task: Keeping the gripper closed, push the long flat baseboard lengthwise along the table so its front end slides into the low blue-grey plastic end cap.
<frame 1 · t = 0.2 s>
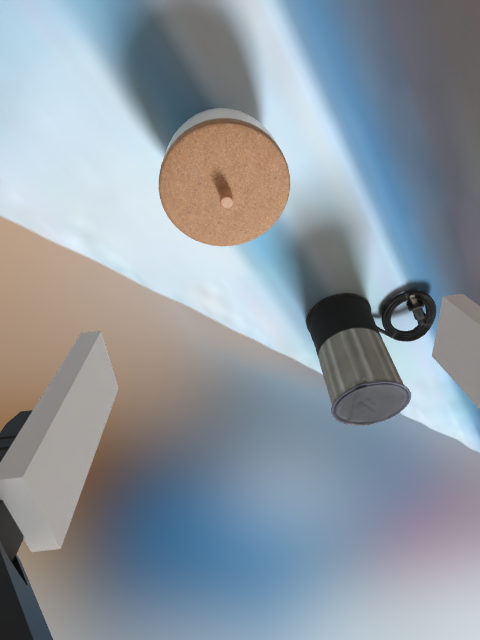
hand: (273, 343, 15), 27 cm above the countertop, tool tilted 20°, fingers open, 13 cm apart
milk frother: (365, 310, 54), on the countertop
lidded jar: (220, 152, 36), on the countertop
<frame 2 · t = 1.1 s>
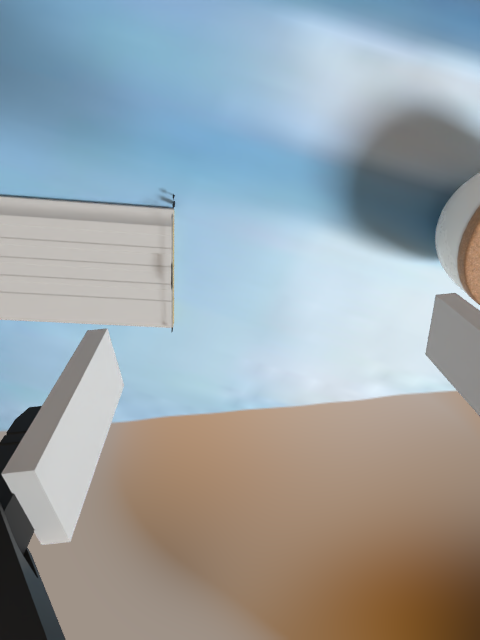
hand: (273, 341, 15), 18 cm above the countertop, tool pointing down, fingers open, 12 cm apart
lidded jar: (474, 218, 32), on the countertop
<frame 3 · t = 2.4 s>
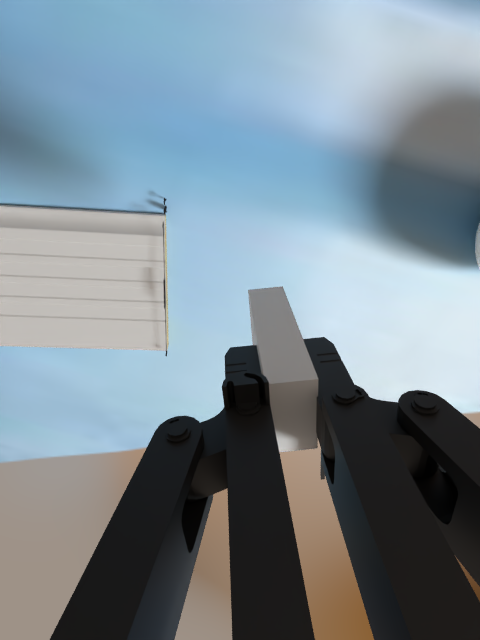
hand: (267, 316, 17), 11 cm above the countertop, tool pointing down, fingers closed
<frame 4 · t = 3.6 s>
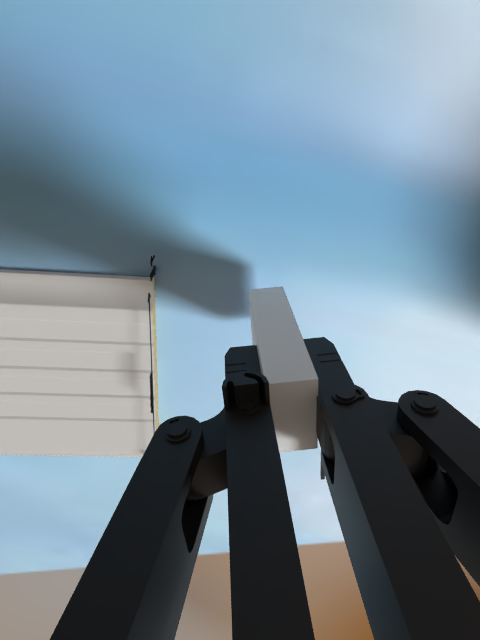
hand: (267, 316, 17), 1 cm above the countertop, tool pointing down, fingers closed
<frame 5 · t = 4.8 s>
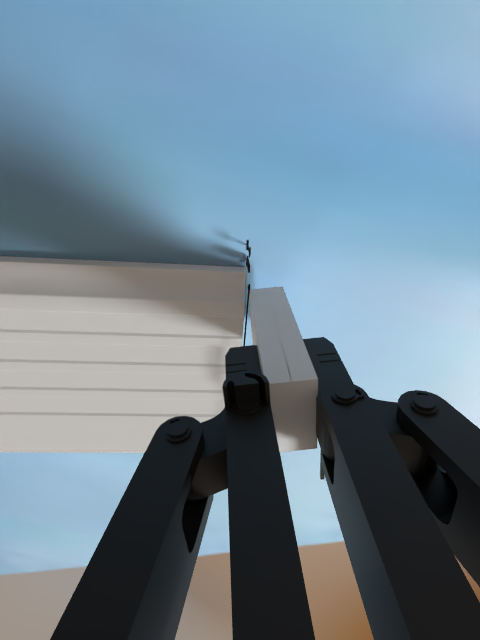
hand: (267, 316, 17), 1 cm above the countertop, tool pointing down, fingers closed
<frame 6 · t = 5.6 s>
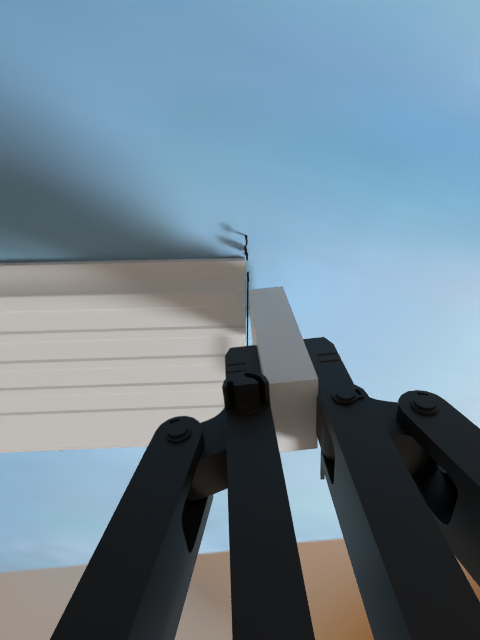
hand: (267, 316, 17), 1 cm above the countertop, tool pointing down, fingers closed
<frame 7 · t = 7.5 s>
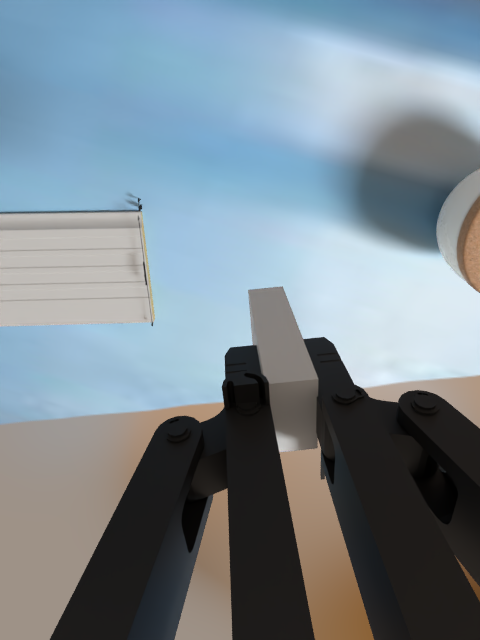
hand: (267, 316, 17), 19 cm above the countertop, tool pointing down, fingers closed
lidded jar: (473, 212, 35), on the countertop
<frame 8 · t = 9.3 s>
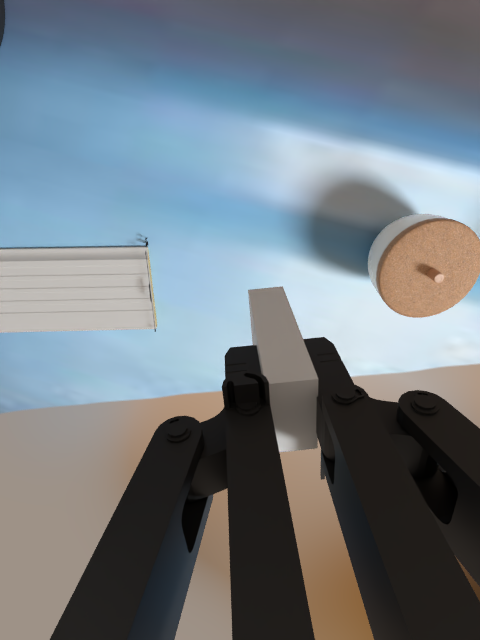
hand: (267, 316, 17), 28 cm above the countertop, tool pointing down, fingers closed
lidded jar: (398, 248, 46), on the countertop
baseboard: (25, 282, 46), on the countertop
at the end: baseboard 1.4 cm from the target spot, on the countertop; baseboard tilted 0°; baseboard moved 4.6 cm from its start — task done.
